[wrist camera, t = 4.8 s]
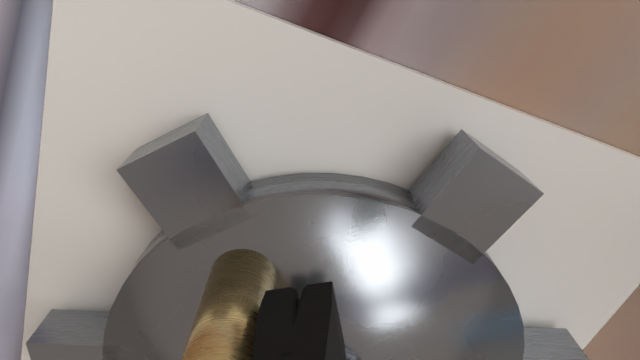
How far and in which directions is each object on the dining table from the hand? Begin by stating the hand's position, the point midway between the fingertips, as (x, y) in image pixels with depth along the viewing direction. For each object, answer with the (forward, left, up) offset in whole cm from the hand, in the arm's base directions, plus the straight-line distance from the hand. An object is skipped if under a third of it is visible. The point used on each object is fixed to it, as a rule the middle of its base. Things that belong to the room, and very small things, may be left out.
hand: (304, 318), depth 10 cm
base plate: (-2, +4, -4) cm, 6 cm away
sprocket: (-2, +4, -4) cm, 6 cm away
